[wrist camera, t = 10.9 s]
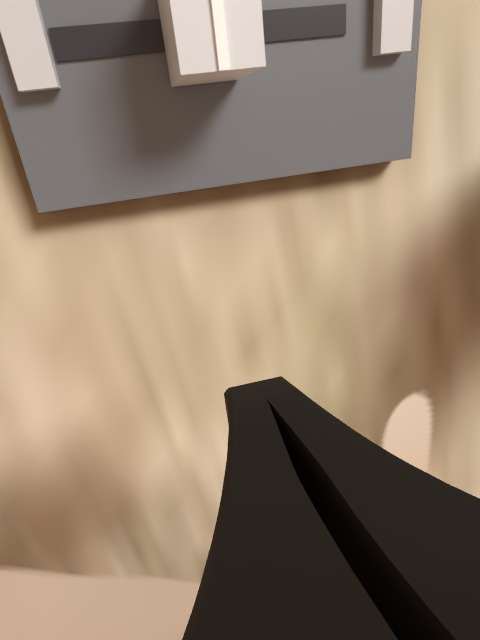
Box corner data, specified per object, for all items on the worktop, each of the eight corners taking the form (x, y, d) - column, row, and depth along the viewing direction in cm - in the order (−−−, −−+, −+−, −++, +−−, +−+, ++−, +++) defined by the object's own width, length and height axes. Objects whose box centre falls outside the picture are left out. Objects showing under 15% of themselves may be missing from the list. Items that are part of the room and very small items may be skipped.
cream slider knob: (228, -27, 13) (257, -77, 10) (238, 79, 15) (267, 65, 11) (153, -22, 13) (159, -72, 10) (171, 87, 14) (181, 74, 11)
